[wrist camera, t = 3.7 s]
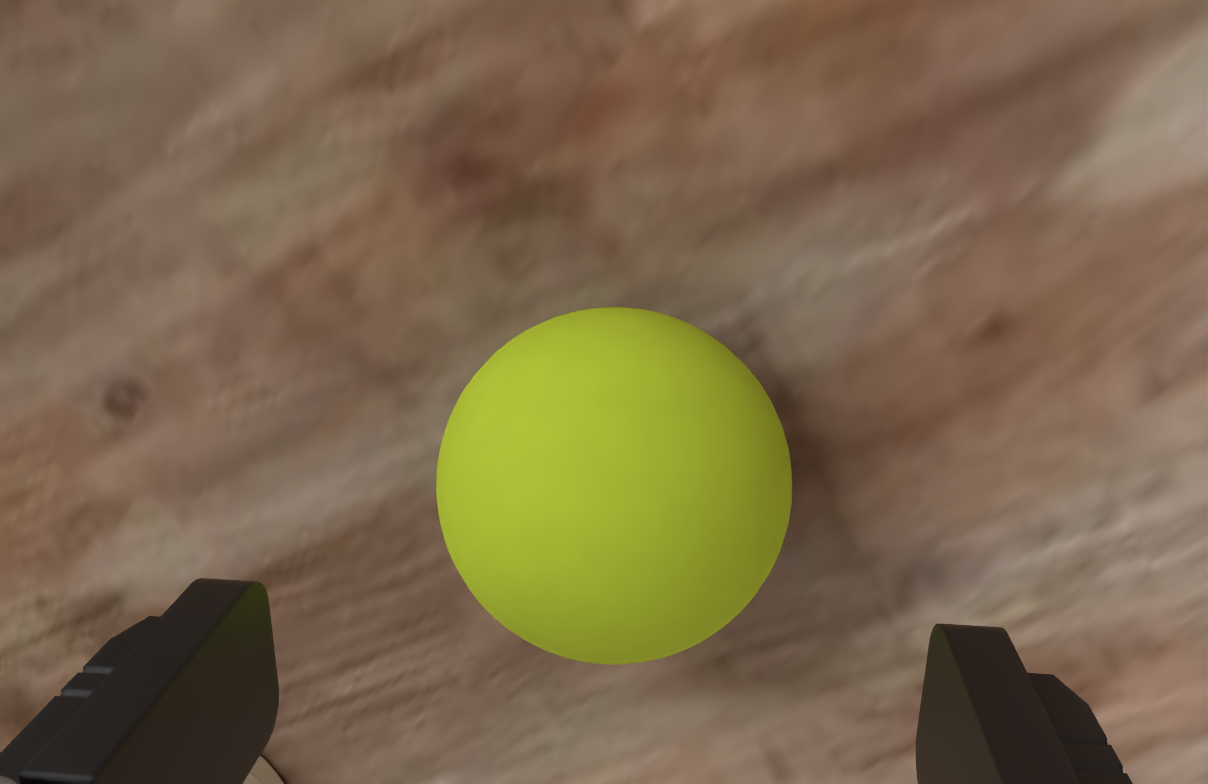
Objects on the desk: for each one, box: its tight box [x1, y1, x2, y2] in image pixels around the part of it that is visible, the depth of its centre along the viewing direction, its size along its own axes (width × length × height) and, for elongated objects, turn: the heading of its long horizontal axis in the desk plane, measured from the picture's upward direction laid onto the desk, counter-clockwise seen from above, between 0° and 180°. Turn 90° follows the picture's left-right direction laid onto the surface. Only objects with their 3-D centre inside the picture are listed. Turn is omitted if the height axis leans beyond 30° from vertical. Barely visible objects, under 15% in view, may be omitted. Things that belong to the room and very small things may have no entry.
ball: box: [436, 307, 792, 664], centre depth 18 cm, size 6×6×6 cm
